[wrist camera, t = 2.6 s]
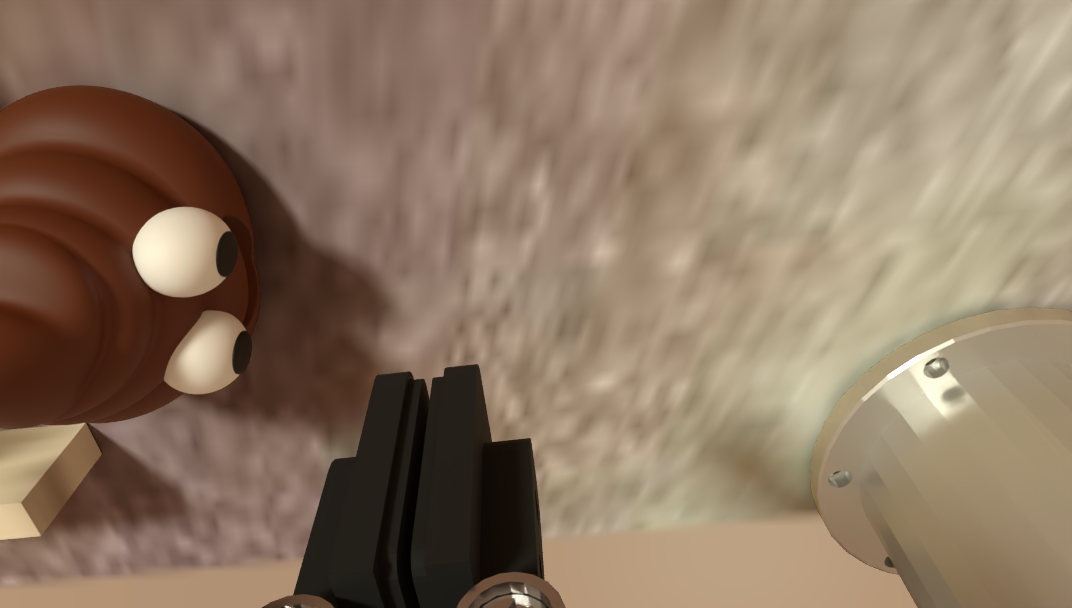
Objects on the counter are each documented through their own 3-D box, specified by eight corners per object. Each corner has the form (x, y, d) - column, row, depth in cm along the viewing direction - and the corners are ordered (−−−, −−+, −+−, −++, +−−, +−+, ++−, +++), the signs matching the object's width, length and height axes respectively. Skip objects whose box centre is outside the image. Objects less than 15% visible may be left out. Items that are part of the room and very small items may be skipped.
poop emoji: (-45, 67, 20) (-416, 181, 12) (264, 87, 21) (104, 210, 13) (47, 361, 25) (-175, 583, 17) (295, 372, 26) (194, 593, 18)
